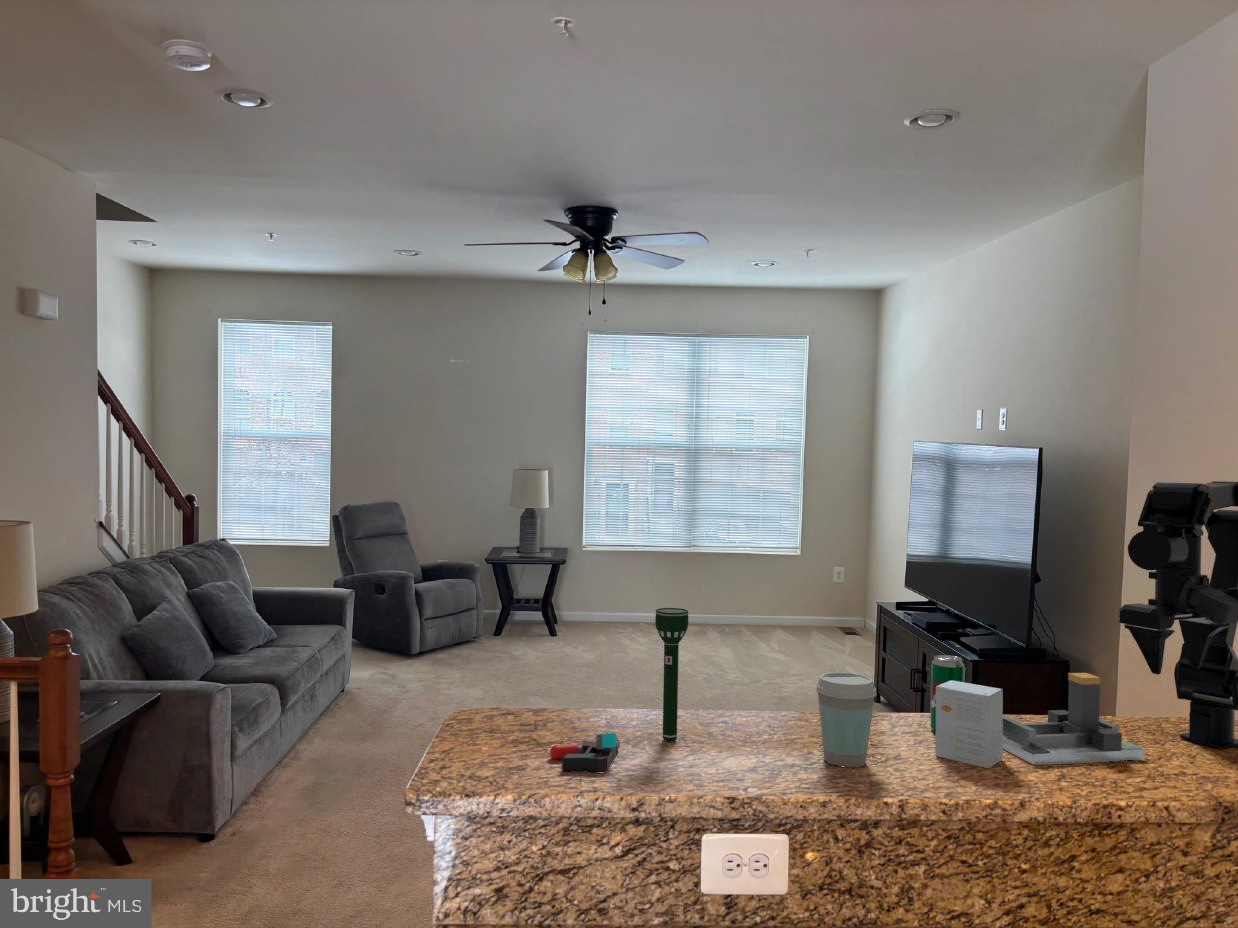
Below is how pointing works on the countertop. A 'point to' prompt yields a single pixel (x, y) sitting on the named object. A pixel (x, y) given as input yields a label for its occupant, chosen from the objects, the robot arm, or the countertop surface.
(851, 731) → the coffee cup
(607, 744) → the toy gun
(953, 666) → the soda can
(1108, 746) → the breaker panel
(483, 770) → the countertop surface
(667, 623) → the flashlight
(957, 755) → the small box
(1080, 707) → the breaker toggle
